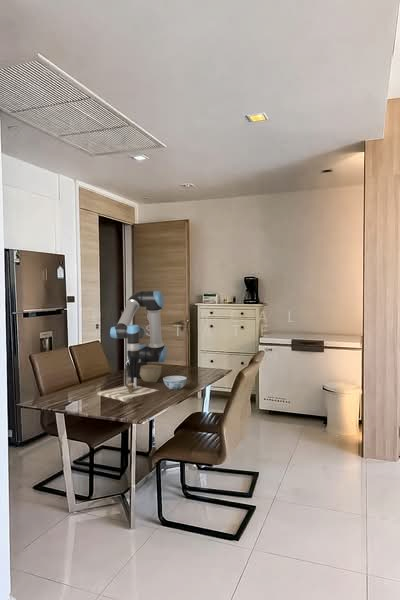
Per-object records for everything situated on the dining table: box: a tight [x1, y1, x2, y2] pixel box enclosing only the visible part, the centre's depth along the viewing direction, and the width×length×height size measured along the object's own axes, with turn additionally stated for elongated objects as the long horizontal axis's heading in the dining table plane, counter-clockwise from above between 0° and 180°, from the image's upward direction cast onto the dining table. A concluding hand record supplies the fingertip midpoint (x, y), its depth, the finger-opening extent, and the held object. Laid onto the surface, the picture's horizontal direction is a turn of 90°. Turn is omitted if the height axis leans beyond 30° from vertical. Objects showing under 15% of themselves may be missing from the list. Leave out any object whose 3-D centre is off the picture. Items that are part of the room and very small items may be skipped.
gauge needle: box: [125, 376, 132, 392], centre depth 259 cm, size 19×5×6 cm, turn 11°
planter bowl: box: [140, 364, 163, 383], centre depth 287 cm, size 16×16×11 cm
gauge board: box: [96, 385, 160, 402], centre depth 254 cm, size 27×27×2 cm
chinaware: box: [162, 375, 188, 390], centre depth 262 cm, size 15×15×8 cm
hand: (134, 387), depth 255 cm, fingers closed
